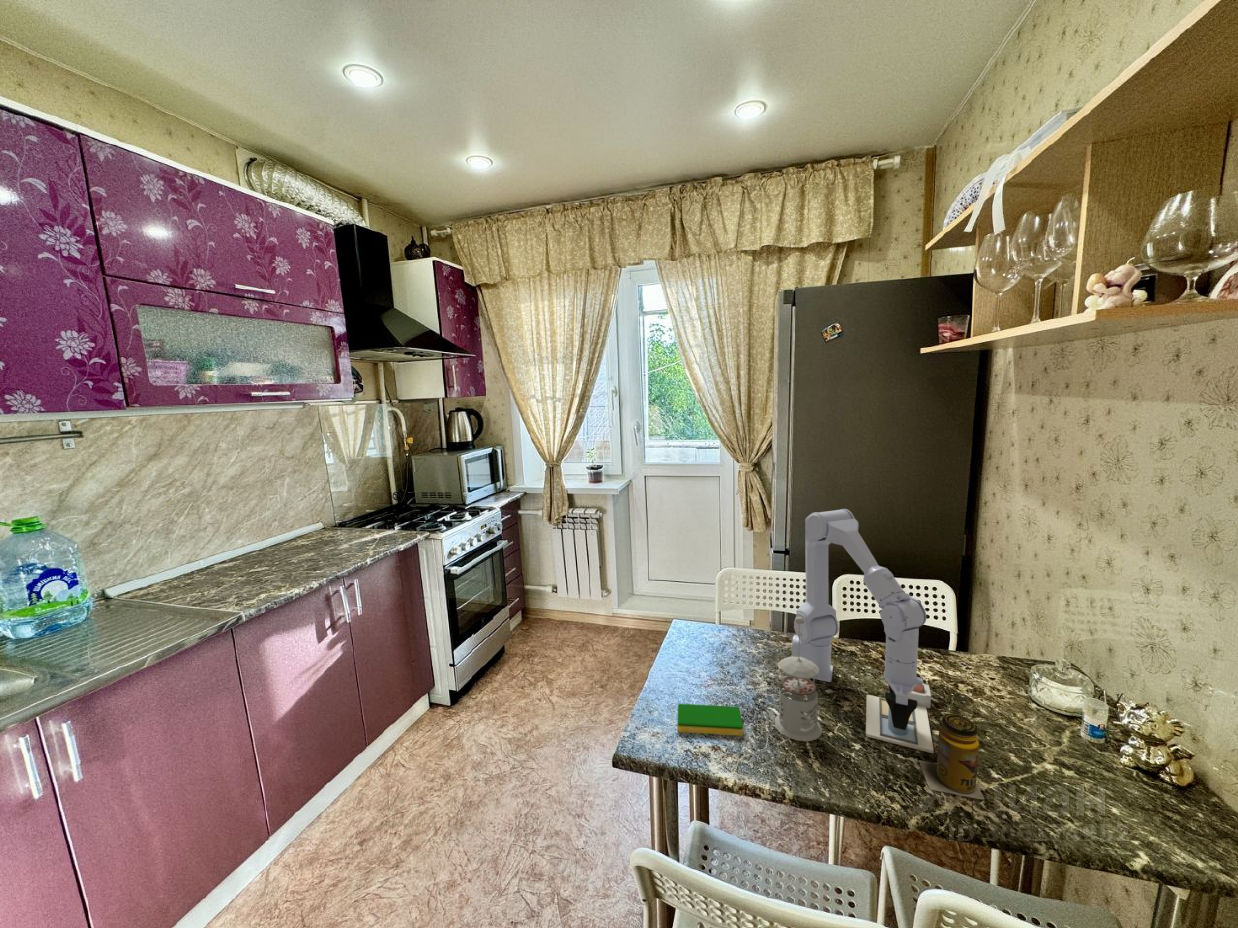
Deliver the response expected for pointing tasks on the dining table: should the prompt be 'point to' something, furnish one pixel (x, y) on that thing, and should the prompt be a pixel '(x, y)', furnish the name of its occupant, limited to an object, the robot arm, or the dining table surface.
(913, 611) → the robot arm
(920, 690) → the button
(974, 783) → the condiment
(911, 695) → the button housing
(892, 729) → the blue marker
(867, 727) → the sheet
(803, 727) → the french press
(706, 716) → the dish sponge
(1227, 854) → the dining table surface
